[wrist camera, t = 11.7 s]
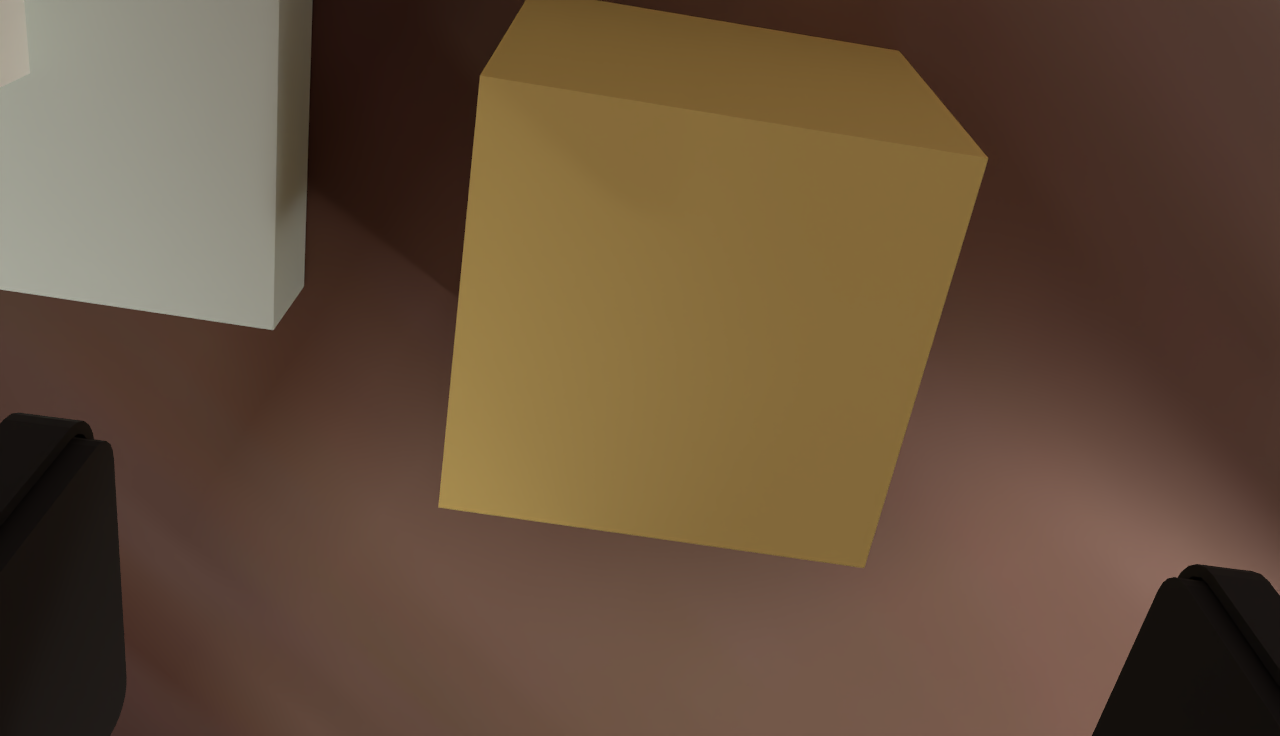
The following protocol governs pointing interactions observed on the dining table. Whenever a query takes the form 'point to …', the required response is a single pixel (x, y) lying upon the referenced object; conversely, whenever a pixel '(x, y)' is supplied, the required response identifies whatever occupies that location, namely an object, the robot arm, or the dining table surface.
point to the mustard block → (698, 279)
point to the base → (156, 154)
